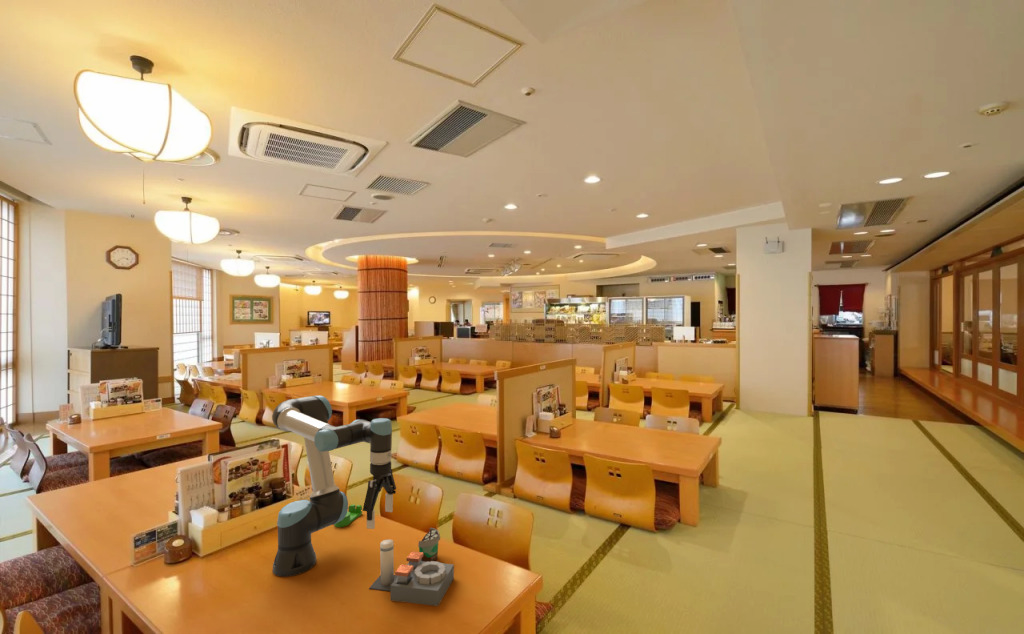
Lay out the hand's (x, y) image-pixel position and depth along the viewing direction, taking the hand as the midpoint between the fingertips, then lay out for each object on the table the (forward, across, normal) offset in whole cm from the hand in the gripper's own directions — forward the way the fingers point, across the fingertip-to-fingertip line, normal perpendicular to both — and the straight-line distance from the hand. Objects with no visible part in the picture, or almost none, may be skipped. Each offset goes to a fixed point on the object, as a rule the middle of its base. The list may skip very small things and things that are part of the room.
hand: (380, 519), depth 160 cm
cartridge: (+21, -1, -4) cm, 22 cm away
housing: (+21, -3, -18) cm, 28 cm away
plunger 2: (+19, +2, -13) cm, 23 cm away
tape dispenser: (+24, +42, +40) cm, 63 cm away
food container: (+22, +16, -14) cm, 30 cm away
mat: (+22, -2, -4) cm, 22 cm away
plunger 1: (+19, -7, -13) cm, 24 cm away
